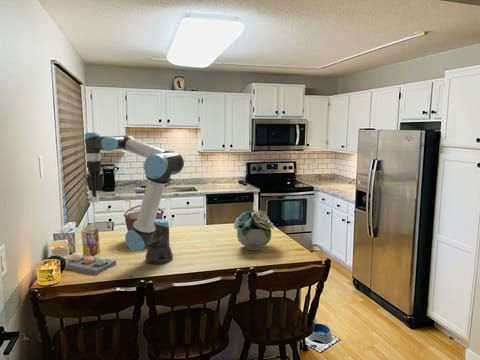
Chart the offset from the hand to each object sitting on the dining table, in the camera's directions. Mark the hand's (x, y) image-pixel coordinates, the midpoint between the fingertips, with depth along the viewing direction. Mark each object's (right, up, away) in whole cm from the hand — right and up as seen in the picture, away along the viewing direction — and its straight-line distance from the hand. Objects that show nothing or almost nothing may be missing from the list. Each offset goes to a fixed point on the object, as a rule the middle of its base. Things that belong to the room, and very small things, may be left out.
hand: (96, 202), depth 199 cm
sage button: (+7, -33, -12) cm, 35 cm away
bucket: (+19, -28, +29) cm, 45 cm away
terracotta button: (0, -33, -9) cm, 34 cm away
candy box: (-6, -32, +9) cm, 33 cm away
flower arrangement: (+90, -30, +20) cm, 97 cm away
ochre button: (-8, -32, -6) cm, 33 cm away
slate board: (0, -34, -9) cm, 35 cm away
